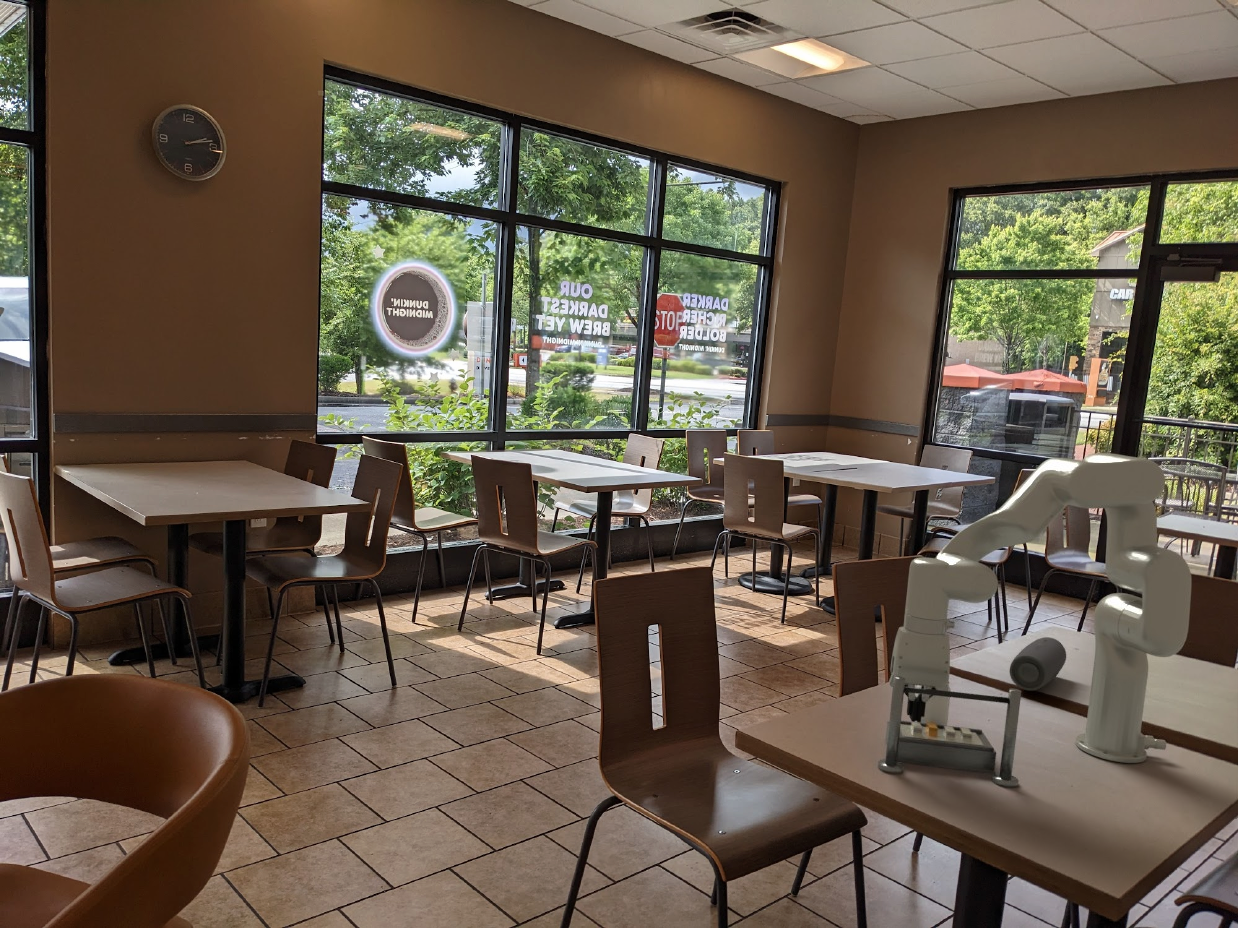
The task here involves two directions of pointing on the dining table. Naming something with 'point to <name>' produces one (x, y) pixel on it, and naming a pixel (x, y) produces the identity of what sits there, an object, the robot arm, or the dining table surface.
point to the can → (936, 709)
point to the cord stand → (899, 688)
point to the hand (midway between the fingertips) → (914, 719)
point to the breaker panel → (944, 747)
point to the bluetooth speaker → (1038, 663)
